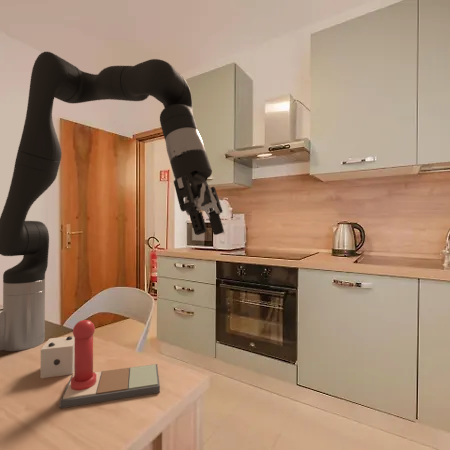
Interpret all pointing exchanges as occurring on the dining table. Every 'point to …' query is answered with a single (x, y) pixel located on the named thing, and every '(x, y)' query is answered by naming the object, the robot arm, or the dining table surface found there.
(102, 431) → the dining table surface
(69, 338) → the die
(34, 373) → the dining table surface
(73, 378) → the pawn
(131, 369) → the board
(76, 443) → the dining table surface
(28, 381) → the dining table surface
